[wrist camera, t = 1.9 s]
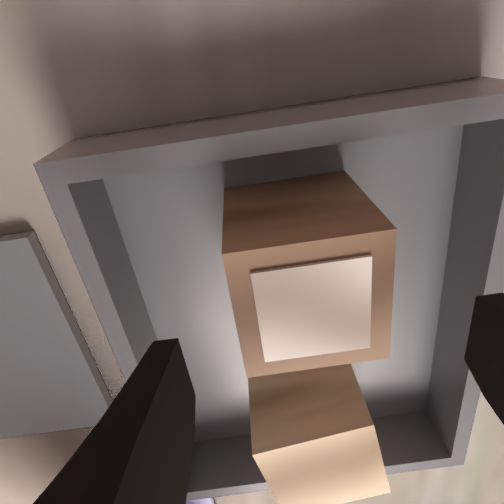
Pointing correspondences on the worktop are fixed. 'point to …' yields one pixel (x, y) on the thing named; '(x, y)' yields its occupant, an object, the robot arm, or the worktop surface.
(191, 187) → the parts bin
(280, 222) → the box stamped
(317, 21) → the worktop surface
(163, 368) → the robot arm
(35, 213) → the worktop surface
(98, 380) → the coaster
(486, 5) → the worktop surface
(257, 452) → the box plain
